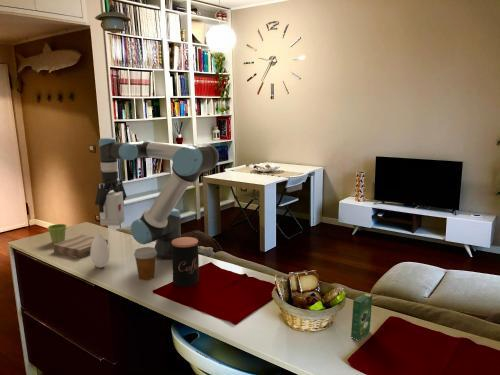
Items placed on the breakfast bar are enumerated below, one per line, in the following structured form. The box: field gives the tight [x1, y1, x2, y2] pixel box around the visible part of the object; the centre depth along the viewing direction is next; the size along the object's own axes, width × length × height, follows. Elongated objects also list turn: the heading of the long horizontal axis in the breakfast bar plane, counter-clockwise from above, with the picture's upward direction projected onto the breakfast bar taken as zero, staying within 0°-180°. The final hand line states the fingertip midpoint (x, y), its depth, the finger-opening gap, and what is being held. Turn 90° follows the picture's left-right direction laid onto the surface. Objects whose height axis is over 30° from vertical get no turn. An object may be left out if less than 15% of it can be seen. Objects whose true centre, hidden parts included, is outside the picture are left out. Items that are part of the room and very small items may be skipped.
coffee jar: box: [171, 236, 200, 288], centre depth 170 cm, size 11×11×18 cm
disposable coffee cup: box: [133, 246, 157, 281], centre depth 176 cm, size 10×10×12 cm
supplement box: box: [99, 190, 125, 227], centre depth 199 cm, size 9×9×15 cm
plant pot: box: [47, 223, 68, 245], centre depth 221 cm, size 9×9×9 cm
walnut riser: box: [52, 234, 109, 259], centre depth 210 cm, size 18×18×4 cm
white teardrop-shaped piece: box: [89, 228, 110, 269], centre depth 186 cm, size 8×8×18 cm
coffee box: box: [350, 292, 373, 341], centre depth 132 cm, size 8×3×13 cm, turn 137°
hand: (112, 215), depth 200 cm, fingers closed on supplement box, 11 cm apart
